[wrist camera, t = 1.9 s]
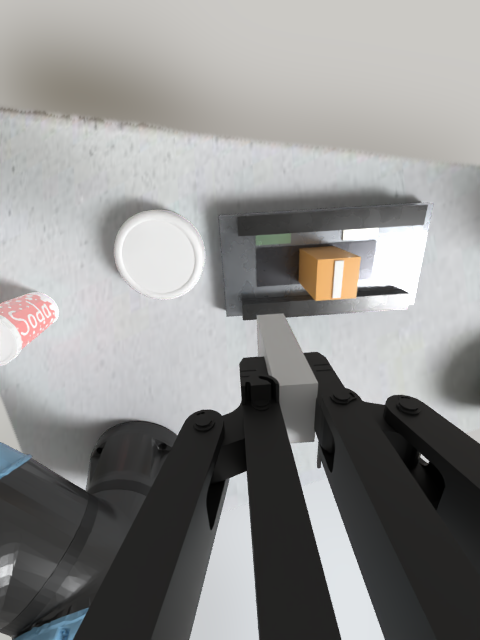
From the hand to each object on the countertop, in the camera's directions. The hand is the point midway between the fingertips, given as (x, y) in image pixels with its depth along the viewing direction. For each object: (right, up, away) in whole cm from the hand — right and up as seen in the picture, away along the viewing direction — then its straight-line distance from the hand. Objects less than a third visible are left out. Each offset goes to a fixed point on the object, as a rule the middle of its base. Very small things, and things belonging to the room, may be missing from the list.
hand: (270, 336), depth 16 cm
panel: (+8, +8, +19) cm, 22 cm away
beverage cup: (-28, +2, +20) cm, 34 cm away
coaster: (-11, +9, +18) cm, 23 cm away
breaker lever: (+7, +8, +17) cm, 20 cm away
